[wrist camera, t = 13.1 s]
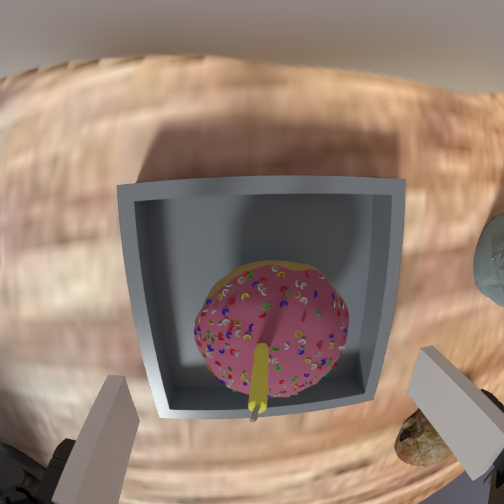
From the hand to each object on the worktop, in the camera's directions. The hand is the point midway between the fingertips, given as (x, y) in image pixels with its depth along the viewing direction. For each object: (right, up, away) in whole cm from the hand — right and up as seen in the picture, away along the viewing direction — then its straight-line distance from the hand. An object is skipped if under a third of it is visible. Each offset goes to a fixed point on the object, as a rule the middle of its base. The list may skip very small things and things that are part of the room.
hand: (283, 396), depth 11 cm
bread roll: (+21, -16, +17) cm, 31 cm away
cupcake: (0, +3, +9) cm, 10 cm away
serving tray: (0, +3, +10) cm, 10 cm away
